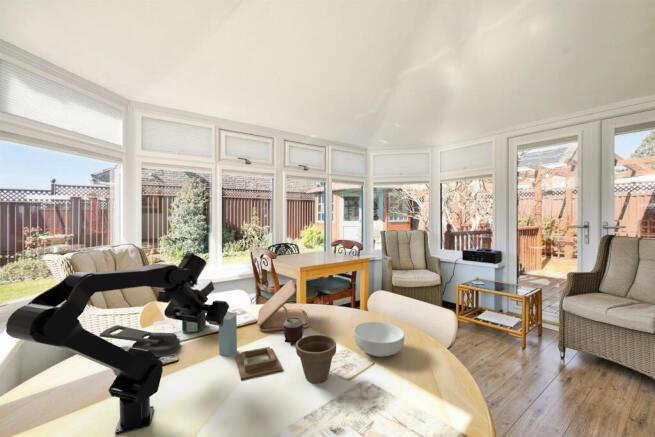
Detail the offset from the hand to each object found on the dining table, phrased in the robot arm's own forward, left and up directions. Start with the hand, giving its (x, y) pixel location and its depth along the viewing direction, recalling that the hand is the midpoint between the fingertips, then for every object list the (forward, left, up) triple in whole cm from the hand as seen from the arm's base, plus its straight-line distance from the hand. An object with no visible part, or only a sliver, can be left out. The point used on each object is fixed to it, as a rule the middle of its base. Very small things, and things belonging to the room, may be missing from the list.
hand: (209, 323), depth 91 cm
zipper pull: (+21, +22, -13) cm, 33 cm away
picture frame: (-5, -14, -13) cm, 20 cm away
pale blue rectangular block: (+6, -6, -13) cm, 15 cm away
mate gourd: (+5, -28, -13) cm, 31 cm away
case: (+26, -30, -13) cm, 41 cm away
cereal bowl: (-13, -53, -13) cm, 56 cm away
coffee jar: (+32, +5, -13) cm, 35 cm away
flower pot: (-19, -28, -13) cm, 36 cm away
